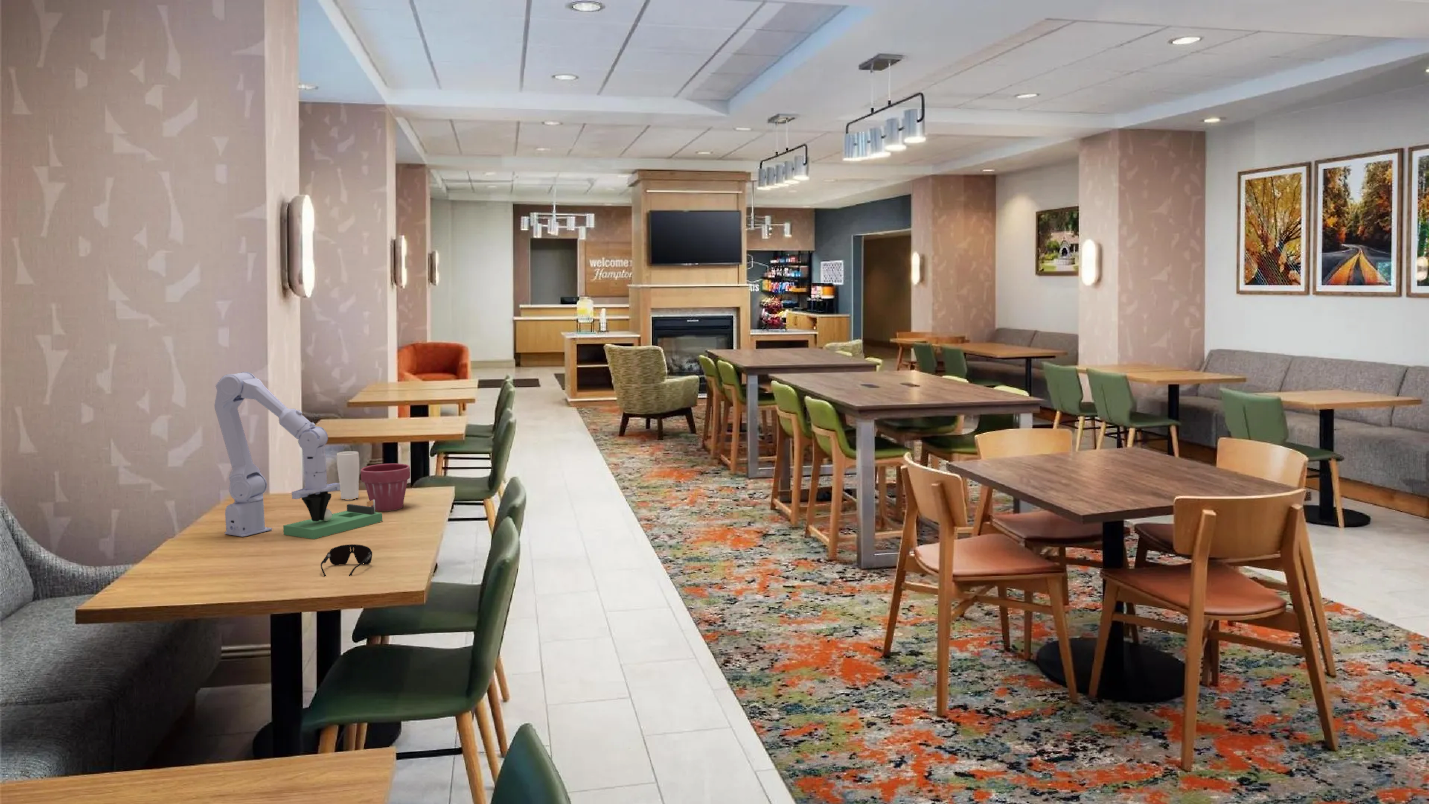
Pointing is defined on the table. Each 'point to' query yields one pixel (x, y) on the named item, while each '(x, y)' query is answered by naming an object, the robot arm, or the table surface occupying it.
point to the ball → (327, 515)
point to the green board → (335, 522)
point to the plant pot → (386, 485)
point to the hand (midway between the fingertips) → (318, 520)
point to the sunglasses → (348, 555)
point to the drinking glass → (348, 474)
